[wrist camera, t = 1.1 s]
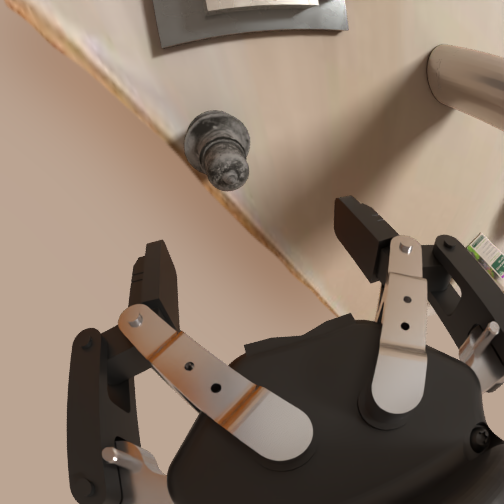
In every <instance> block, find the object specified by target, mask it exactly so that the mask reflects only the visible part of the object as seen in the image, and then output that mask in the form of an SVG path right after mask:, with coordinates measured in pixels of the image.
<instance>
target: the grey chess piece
mask: <svg viewBox="0 0 504 504" xmlns="http://www.w3.org/2000/svg"><path fill="white" fill-rule="evenodd" d="M249 148H250V137H249V134H248V130H247V129H246V127H245V126H244V124H243V123H242V122H241V121H239V120H238V119H237V118H235V117H233V116H231V115H229V114H227V113H225V112H223V111H216V110H214V111H207V112H204V113H202V114H200V115H199V116H197V117H196V118H195V119H194V120H193V121H192V122H191V124H190V126H189V128H188V132H187V134H186V136H185V141H184V151H185V155H186V157H187V160H188V161H189V163H190V164H191V165H192V166H193V167H194V168H195V169H197V170H198V171H199V172H202V173H204V174H206V175H207V176H208V179H209V181H210V182H211V184H212V185H213V186H214V187H216V188H217V189H219V190H222V191H233V190H236V189H238V188H240V187H241V186H243V185H244V184H245V182H246V181H247V179H248V176H249V166H248V163H247V161H246V157H247V155H248V152H249Z"/></svg>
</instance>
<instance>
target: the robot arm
mask: <svg viewBox="0 0 504 504" xmlns="http://www.w3.org/2000/svg"><path fill="white" fill-rule="evenodd" d="M427 74H428V81H429V86H430V88H431V91H432V93H433V95H434V96H435V98H436V99H437V100H438V101H439V102H440V103H442V104H444V105H447V106H449V107H452V108H454V109H457V110H459V111H461V112H464V113H466V114H468V115H471V116H473V117H475V118H477V119H479V120H482V121H484V122H486V123H488V124H490V125H492V126H494V127H496V128H498V129H500V130H502V131H504V58H503V57H500V56H496V55H492V54H489V53H485V52H481V51H476V50H472V49H468V48H463V47H458V46H452V45H439V46H437V47H436V48H435V49H434V50H433V51H432V53H431V55H430V57H429V61H428V67H427ZM334 230H335V234H336V236H337V238H338V239H339V241H340V242H341V243H342V245H343V246H344V247H345V249H346V250H347V251H348V253H349V254H350V255H351V257H352V258H353V260H354V261H355V262H356V264H357V265H358V266H359V268H360V269H361V271H362V272H363V273H364V275H365V276H366V278H367V279H368V280H369V282H370V283H374V282H376V281H380V282H381V287H380V293H379V299H378V305H377V311H376V317H375V321H369V320H354V318H353V316H352V314H351V313H349V314H346V315H343V316H341V317H338V318H335V319H332V320H329V321H326V322H324V323H323V324H321V325H319V326H318V327H316V328H315V329H313V330H311V331H309V332H308V333H306V334H304V335H302V336H292V337H276V338H269V339H265V340H262V341H258V342H254V343H250V344H246V345H244V347H245V351H246V353H245V354H243V355H241V356H239V357H238V358H236V359H235V360H234V361H233V362H231V364H229V365H228V366H227V365H226V364H225V363H223V362H222V361H221V360H220V359H218V358H217V357H215V356H214V355H213V354H211V353H210V352H209V351H207V350H206V349H205V348H203V347H202V346H201V345H200V344H198V343H197V342H196V341H194V340H193V339H192V338H191V337H190V336H188V335H187V334H186V333H184V332H183V331H180V328H179V327H180V326H179V312H178V311H179V310H178V293H177V292H178V291H177V275H176V270H175V267H174V265H173V262H172V260H171V257H170V255H169V252H168V250H167V247H166V245H165V242H164V241H163V240H159V241H156V242H152V243H148V244H147V245H146V253H145V256H143V257H139V258H138V260H137V261H136V263H135V265H134V267H133V273H132V275H133V276H132V280H131V281H132V283H131V288H130V297H129V305H128V308H127V309H125V310H124V311H123V313H122V314H121V315H120V317H119V320H118V325H116V326H115V327H113V328H111V329H109V330H107V331H105V332H103V333H100V332H99V331H98V330H97V329H95V328H88V329H85V330H83V331H81V332H80V333H79V334H78V335H77V336H76V338H75V340H74V342H73V346H72V353H71V362H70V372H69V384H68V401H67V455H68V471H69V482H70V489H71V493H72V495H73V497H74V498H75V500H77V502H78V503H79V504H504V441H503V440H502V439H500V438H499V437H498V436H497V435H495V434H494V433H493V432H492V431H491V430H490V428H489V427H488V425H487V423H486V420H485V416H484V411H483V404H482V394H483V393H485V392H488V393H489V392H493V391H495V390H496V389H497V388H498V387H500V386H501V385H502V384H503V383H504V293H503V292H502V291H501V289H500V288H499V287H498V285H497V284H496V283H495V282H494V280H493V279H492V278H491V277H490V276H489V274H488V273H487V272H486V271H485V270H484V268H483V267H482V266H481V265H480V264H479V263H478V261H477V260H476V259H475V258H474V257H473V256H472V255H471V254H470V253H469V251H468V250H467V249H466V248H465V247H464V246H463V245H462V244H461V243H460V242H459V241H458V240H457V239H456V238H454V237H452V236H449V235H440V236H438V237H437V238H436V240H435V244H434V245H420V243H419V242H418V241H417V240H416V239H414V238H412V237H410V236H405V235H399V234H398V233H397V232H396V231H395V230H394V229H393V228H392V227H391V226H390V225H389V224H388V223H387V222H386V221H385V220H383V218H382V217H381V216H380V215H378V213H377V212H376V211H375V210H374V209H372V208H371V207H369V206H367V205H365V204H363V203H362V204H360V203H359V202H358V201H357V200H356V199H355V198H354V197H353V196H351V195H350V196H345V197H340V198H336V200H335V210H334ZM451 278H453V279H454V280H455V282H456V283H457V284H458V286H459V287H460V289H461V293H462V296H461V297H460V296H459V295H458V293H457V292H456V291H455V289H454V288H453V287H452V285H451V284H450V281H451ZM427 300H428V301H429V303H430V304H431V306H432V307H433V309H434V310H435V312H436V313H437V315H438V316H439V318H440V319H441V321H442V322H443V324H444V326H445V327H446V329H447V330H448V332H449V333H450V335H451V337H452V338H453V340H454V342H455V344H456V345H457V347H458V349H459V359H460V360H458V359H456V358H453V357H451V356H449V355H447V354H445V353H443V352H440V351H438V350H436V349H434V348H432V347H430V346H428V345H425V344H426V328H427V327H426V326H427ZM149 368H152V369H153V370H154V371H155V372H156V373H157V374H158V375H159V376H160V377H161V378H162V379H163V380H164V381H165V382H166V383H167V384H168V385H169V386H170V387H171V388H172V389H173V390H174V391H175V392H176V393H177V394H178V395H180V396H181V398H183V399H184V400H185V401H186V402H187V403H188V404H189V405H190V406H191V407H192V408H193V409H194V410H195V411H197V412H198V413H199V415H198V417H197V419H196V420H195V422H194V424H193V426H192V428H191V429H190V431H189V433H188V435H187V436H186V438H185V440H184V442H183V443H182V445H181V447H180V449H179V450H178V452H177V454H176V455H175V457H174V459H173V461H172V462H171V464H170V466H169V469H168V473H167V475H165V474H164V473H162V472H161V470H160V469H159V467H158V465H157V462H156V460H155V458H154V456H153V455H152V454H151V453H150V452H149V451H147V450H145V449H143V448H141V444H140V437H139V430H138V421H137V411H136V399H135V387H134V376H135V375H137V374H139V373H141V372H143V371H145V370H147V369H149Z"/></svg>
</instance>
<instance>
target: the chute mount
mask: <svg viewBox="0 0 504 504" xmlns="http://www.w3.org/2000/svg"><path fill="white" fill-rule="evenodd" d="M153 5H154V10H155V16H156V21H157V27H158V32H159V37H160V42H161V47H162V49H164V48H168V47H172V46H176V45H180V44H185V43H189V42H194V41H199V40H204V39H209V38H215V37H221V36H228V35H235V34H243V33H252V32H263V31H279V30H336V31H348V30H349V29H348V21H347V13H346V6H345V0H153Z"/></svg>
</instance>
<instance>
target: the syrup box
mask: <svg viewBox="0 0 504 504" xmlns="http://www.w3.org/2000/svg"><path fill="white" fill-rule="evenodd" d="M467 250H468V251H469V253H470V254H471V255H472V256H473V257H474V258H475V259H476V260H477V261H478V263H479V264H480V265H481V266H482V267H483V268H484V270H485V271H486V272H487V273H488V274H489V276H490V277H491V278H492V279H493V280H494V282H495V283H496V284H497V285H498V287H499V288H500V289H501V291H502V292H503V293H504V254H503V253H502V252H501V251H500V250H499V249H498V248H497V247H496V246H495V245H494V244H493V243H492V242H491V241H490V240H489V239H488V238H487V237H486V236H485V235H484V234H482V233H480V234H479V236H478V237H477V238H476V239H475V240H474V241H473V242H472V243H471V244H470V245H469V246H467Z"/></svg>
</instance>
